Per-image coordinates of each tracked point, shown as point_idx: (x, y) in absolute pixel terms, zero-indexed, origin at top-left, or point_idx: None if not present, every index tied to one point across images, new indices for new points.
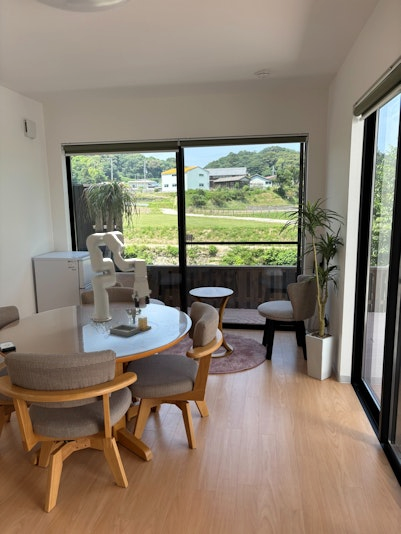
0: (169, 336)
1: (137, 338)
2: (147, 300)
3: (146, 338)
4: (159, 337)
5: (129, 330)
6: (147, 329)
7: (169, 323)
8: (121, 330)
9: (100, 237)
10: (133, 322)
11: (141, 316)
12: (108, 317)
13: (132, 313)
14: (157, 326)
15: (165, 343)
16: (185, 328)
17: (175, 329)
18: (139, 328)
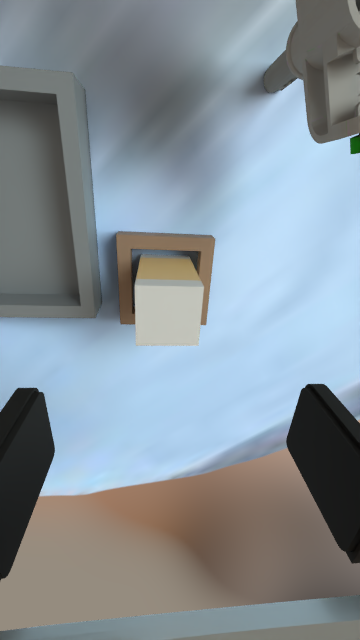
0: (136, 459)
1: (3, 365)
2: (327, 486)
3: None
4: (97, 437)
5: (65, 219)
6: None
7: (342, 344)
8: None
9: None
10: (268, 75)
11: (187, 290)
12: None
13: (308, 23)
14: (261, 320)
15: (50, 492)
16: (276, 449)
17: (245, 426)
18: (90, 315)
